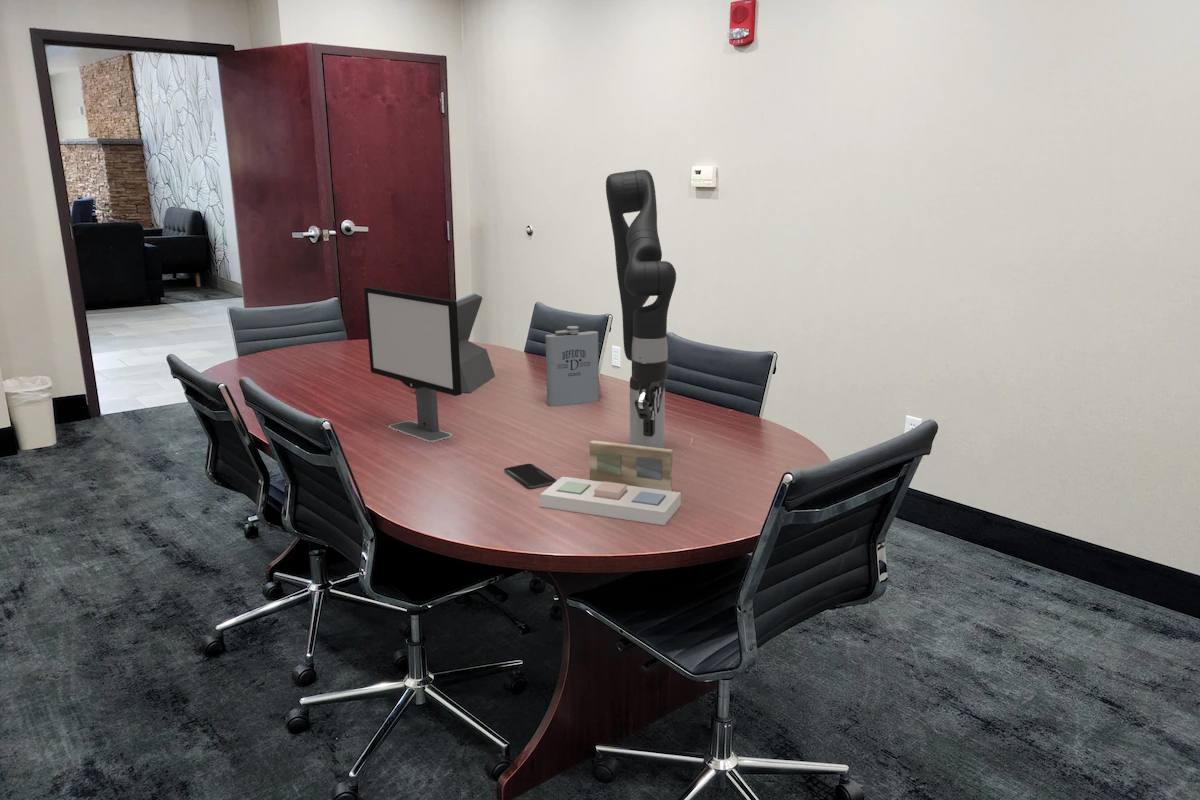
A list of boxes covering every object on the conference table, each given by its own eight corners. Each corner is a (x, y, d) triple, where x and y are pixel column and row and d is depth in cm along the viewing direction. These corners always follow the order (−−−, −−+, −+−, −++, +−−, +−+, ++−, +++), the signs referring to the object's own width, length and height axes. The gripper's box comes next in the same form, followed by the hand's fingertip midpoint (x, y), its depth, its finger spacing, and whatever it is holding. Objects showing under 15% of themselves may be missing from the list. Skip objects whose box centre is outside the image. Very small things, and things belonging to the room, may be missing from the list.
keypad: (562, 488, 200) (562, 476, 199) (680, 505, 190) (681, 492, 189) (540, 506, 189) (540, 494, 189) (664, 525, 179) (664, 512, 178)
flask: (550, 407, 267) (548, 329, 261) (545, 403, 272) (543, 327, 265) (601, 401, 274) (600, 325, 267) (596, 398, 278) (595, 322, 271)
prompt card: (593, 479, 206) (592, 440, 203) (672, 490, 198) (672, 449, 196) (589, 482, 204) (588, 443, 201) (669, 493, 196) (669, 452, 194)
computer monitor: (368, 421, 254) (357, 288, 243) (392, 415, 260) (382, 285, 249) (452, 450, 227) (444, 302, 217) (477, 443, 233) (470, 298, 222)
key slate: (641, 502, 190) (641, 491, 189) (665, 506, 188) (665, 494, 187) (632, 511, 185) (632, 500, 184) (657, 515, 183) (657, 503, 182)
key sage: (567, 492, 196) (567, 481, 195) (589, 495, 194) (589, 484, 193) (557, 500, 191) (557, 489, 190) (580, 504, 189) (580, 492, 188)
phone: (528, 487, 199) (502, 468, 212) (529, 491, 199) (502, 472, 212) (558, 480, 203) (531, 462, 215) (558, 485, 203) (531, 466, 216)
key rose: (603, 492, 193) (603, 481, 192) (626, 495, 191) (626, 484, 190) (594, 501, 188) (594, 489, 187) (618, 504, 186) (618, 493, 185)
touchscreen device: (451, 370, 317) (449, 290, 309) (500, 374, 313) (500, 293, 305) (410, 394, 285) (407, 305, 276) (464, 399, 280) (463, 309, 272)
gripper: (642, 349, 185) (642, 424, 190) (622, 362, 173) (622, 442, 178) (675, 351, 182) (674, 428, 187) (657, 365, 171) (656, 446, 175)
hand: (649, 435), depth 183 cm, fingers closed
